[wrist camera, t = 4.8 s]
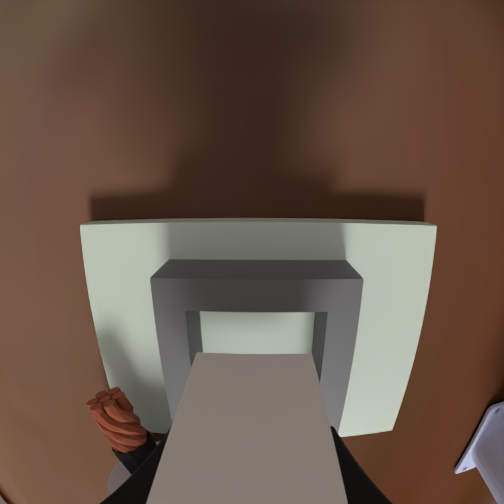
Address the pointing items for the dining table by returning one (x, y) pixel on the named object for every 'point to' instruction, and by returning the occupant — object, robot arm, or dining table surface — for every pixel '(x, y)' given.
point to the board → (261, 305)
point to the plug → (250, 435)
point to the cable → (121, 434)
